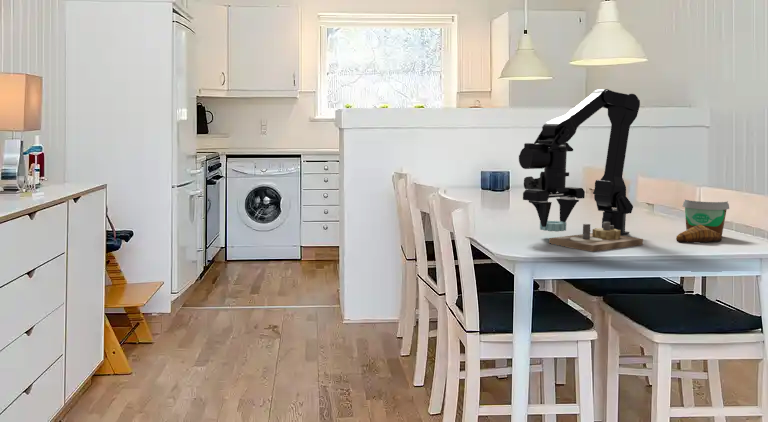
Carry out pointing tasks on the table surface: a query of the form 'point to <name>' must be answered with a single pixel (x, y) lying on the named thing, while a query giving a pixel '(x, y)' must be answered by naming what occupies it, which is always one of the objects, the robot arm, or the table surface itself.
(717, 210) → the food container
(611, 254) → the table surface
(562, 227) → the teal gear
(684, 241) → the croissant
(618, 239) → the gear board
